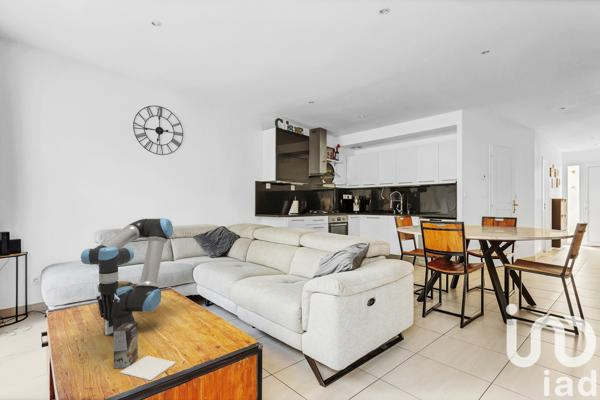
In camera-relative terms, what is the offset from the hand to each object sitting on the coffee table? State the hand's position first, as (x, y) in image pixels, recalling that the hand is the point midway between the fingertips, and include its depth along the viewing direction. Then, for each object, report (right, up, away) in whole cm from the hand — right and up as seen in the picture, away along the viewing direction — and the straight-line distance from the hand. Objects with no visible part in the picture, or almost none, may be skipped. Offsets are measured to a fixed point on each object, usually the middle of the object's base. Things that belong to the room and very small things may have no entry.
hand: (109, 333), depth 137 cm
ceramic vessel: (-32, -12, +61) cm, 70 cm away
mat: (+22, -11, -8) cm, 26 cm away
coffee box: (+10, -12, -3) cm, 16 cm away
